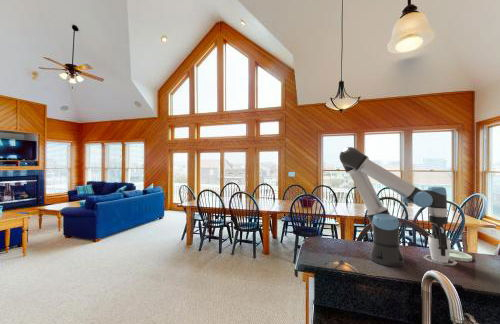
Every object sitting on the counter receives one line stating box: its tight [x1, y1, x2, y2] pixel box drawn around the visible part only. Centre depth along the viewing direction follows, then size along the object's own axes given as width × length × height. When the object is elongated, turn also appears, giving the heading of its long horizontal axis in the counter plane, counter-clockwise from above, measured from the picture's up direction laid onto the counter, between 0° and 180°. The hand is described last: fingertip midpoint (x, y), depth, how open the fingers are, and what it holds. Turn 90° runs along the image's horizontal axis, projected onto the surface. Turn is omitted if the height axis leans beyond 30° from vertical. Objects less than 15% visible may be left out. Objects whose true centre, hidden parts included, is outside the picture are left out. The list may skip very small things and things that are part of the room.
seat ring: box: [423, 254, 458, 267], centre depth 115 cm, size 12×12×1 cm
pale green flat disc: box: [449, 249, 473, 262], centre depth 120 cm, size 13×13×2 cm
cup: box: [427, 234, 451, 263], centre depth 115 cm, size 9×9×12 cm
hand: (439, 258), depth 115 cm, fingers open, 9 cm apart
